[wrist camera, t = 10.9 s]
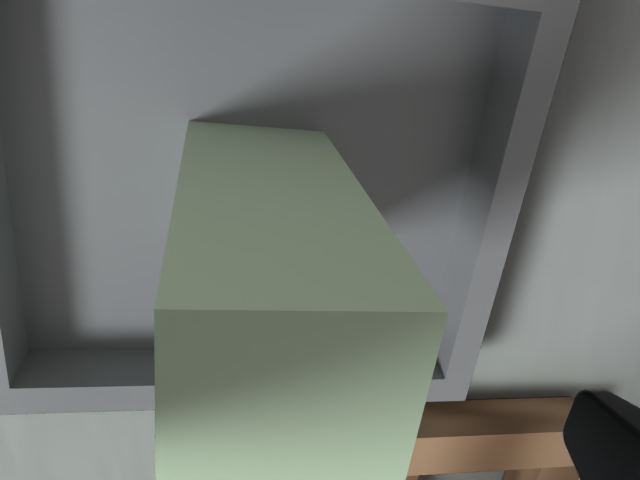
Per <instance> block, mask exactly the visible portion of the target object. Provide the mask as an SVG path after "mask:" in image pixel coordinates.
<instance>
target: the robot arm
mask: <svg viewBox="0 0 640 480" xmlns="http://www.w3.org/2000/svg"><path fill="white" fill-rule="evenodd" d="M563 439H564V443H565V446H566V448H567V450H568V453H569V455H570V457H571V460H572V462H573V464H574V466H575V469H576V471H577V473H578V475H579V478H580V480H640V408H638V407H637V406H635V405H633V404H631V403H629V402H628V401H626V400H624V399H622V398H620V397H618V396H617V395H615V394H613V393H611V392H609V391H607V390H603V389H592V390H582V391H580V392H579V393H578V394H577V395H576V397H575V399H574V401H573V404H572V406H571V409H570V411H569V414H568V416H567V419H566V421H565V424H564V427H563Z"/></svg>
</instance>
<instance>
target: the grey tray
mask: <svg viewBox="0 0 640 480" xmlns="http://www.w3.org/2000/svg"><path fill="white" fill-rule="evenodd" d="M580 1H581V0H0V415H13V414H45V413H78V412H111V411H144V410H155V362H154V308H155V302H156V297H157V291H158V286H159V280H160V275H161V269H162V263H163V258H164V252H165V247H166V241H167V236H168V230H169V225H170V219H171V214H172V208H173V203H174V197H175V192H176V186H177V181H178V175H179V170H180V164H181V159H182V153H183V148H184V142H185V137H186V131H187V126H188V121H197V122H210V123H222V124H235V125H248V126H260V127H273V128H286V129H299V130H311V131H324V132H325V134H326V135H327V137H328V138H329V139H330V141H331V142H332V144H333V145H334V147H335V148H336V150H337V151H338V152H339V154H340V155H341V157H342V158H343V160H344V161H345V163H346V164H347V166H348V167H349V168H350V170H351V171H352V173H353V174H354V176H355V177H356V179H357V180H358V181H359V183H360V184H361V186H362V187H363V189H364V190H365V192H366V193H367V195H368V196H369V197H370V199H371V200H372V202H373V203H374V205H375V206H376V208H377V209H378V210H379V212H380V213H381V215H382V216H383V218H384V219H385V221H386V222H387V223H388V225H389V226H390V228H391V229H392V231H393V232H394V234H395V235H396V237H397V238H398V239H399V241H400V242H401V244H402V245H403V247H404V248H405V250H406V251H407V252H408V254H409V255H410V257H411V258H412V260H413V261H414V263H415V264H416V265H417V267H418V268H419V270H420V271H421V273H422V274H423V276H424V277H425V279H426V280H427V281H428V283H429V284H430V286H431V287H432V289H433V290H434V292H435V293H436V294H437V296H438V297H439V299H440V300H441V302H442V303H443V305H444V306H445V307H446V309H447V310H448V312H449V313H448V317H447V321H446V325H445V329H444V333H443V337H442V341H441V345H440V348H439V352H438V356H437V360H436V364H435V368H434V372H433V376H432V379H431V383H430V387H429V391H428V395H427V399H426V402H439V401H465V399H466V396H467V393H468V389H469V386H470V382H471V379H472V375H473V372H474V368H475V365H476V361H477V358H478V354H479V351H480V348H481V344H482V341H483V337H484V334H485V330H486V327H487V323H488V320H489V316H490V313H491V310H492V306H493V303H494V299H495V296H496V292H497V289H498V285H499V282H500V278H501V275H502V271H503V268H504V265H505V261H506V258H507V254H508V251H509V247H510V244H511V240H512V237H513V233H514V230H515V226H516V223H517V220H518V216H519V213H520V209H521V206H522V202H523V199H524V195H525V192H526V188H527V185H528V181H529V178H530V175H531V171H532V168H533V164H534V161H535V157H536V154H537V150H538V147H539V143H540V140H541V136H542V133H543V130H544V126H545V123H546V119H547V116H548V112H549V109H550V105H551V102H552V98H553V95H554V91H555V88H556V85H557V81H558V78H559V74H560V71H561V67H562V64H563V60H564V57H565V53H566V50H567V46H568V43H569V40H570V36H571V33H572V29H573V26H574V22H575V19H576V15H577V12H578V8H579V5H580Z"/></svg>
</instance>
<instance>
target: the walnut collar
mask: <svg viewBox="0 0 640 480" xmlns="http://www.w3.org/2000/svg"><path fill="white" fill-rule="evenodd" d="M573 401H574V400H573V398H572V397H556V398H523V399H490V400H465V401H439V402H426V403H425V407H424V411H423V414H422V418H421V422H420V426H419V430H418V434H417V438H416V442H415V445H414V449H413V453H412V457H411V461H410V465H409V469H408V473H407V477H406V480H418V477H419V475H434V474H450V473H467V472H484V471H501V470H505V473H504V476H503V479H502V480H578V478H579V475H578V473H577V471H576V469H575V466H574V464H573V462H572V460H571V457H570V455H569V453H568V450H567V448H566V446H565V443H564V439H563V427H564V424H565V421H566V419H567V416H568V414H569V411H570V409H571V406H572V404H573Z"/></svg>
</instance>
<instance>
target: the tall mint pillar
mask: <svg viewBox="0 0 640 480" xmlns="http://www.w3.org/2000/svg"><path fill="white" fill-rule="evenodd" d="M448 313H449V312H448V310H447V309H446V307H445V306H444V305H443V303H442V302H441V300H440V299H439V297H438V296H437V294H436V293H435V292H434V290H433V289H432V287H431V286H430V284H429V283H428V281H427V280H426V279H425V277H424V276H423V274H422V273H421V271H420V270H419V268H418V267H417V265H416V264H415V263H414V261H413V260H412V258H411V257H410V255H409V254H408V252H407V251H406V250H405V248H404V247H403V245H402V244H401V242H400V241H399V239H398V238H397V237H396V235H395V234H394V232H393V231H392V229H391V228H390V226H389V225H388V223H387V222H386V221H385V219H384V218H383V216H382V215H381V213H380V212H379V210H378V209H377V208H376V206H375V205H374V203H373V202H372V200H371V199H370V197H369V196H368V195H367V193H366V192H365V190H364V189H363V187H362V186H361V184H360V183H359V181H358V180H357V179H356V177H355V176H354V174H353V173H352V171H351V170H350V168H349V167H348V166H347V164H346V163H345V161H344V160H343V158H342V157H341V155H340V154H339V152H338V151H337V150H336V148H335V147H334V145H333V144H332V142H331V141H330V139H329V138H328V137H327V135H326V134H325V132H324V131H311V130H299V129H286V128H273V127H260V126H248V125H235V124H222V123H210V122H197V121H188V126H187V131H186V137H185V142H184V148H183V153H182V159H181V164H180V170H179V175H178V181H177V186H176V192H175V197H174V203H173V208H172V214H171V219H170V225H169V230H168V236H167V241H166V247H165V252H164V258H163V263H162V269H161V275H160V280H159V286H158V291H157V297H156V302H155V308H154V362H155V480H406V477H407V473H408V469H409V465H410V461H411V457H412V453H413V449H414V445H415V442H416V438H417V434H418V430H419V426H420V422H421V418H422V414H423V411H424V407H425V403H426V399H427V395H428V391H429V387H430V383H431V379H432V376H433V372H434V368H435V364H436V360H437V356H438V352H439V348H440V345H441V341H442V337H443V333H444V329H445V325H446V321H447V317H448Z"/></svg>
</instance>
